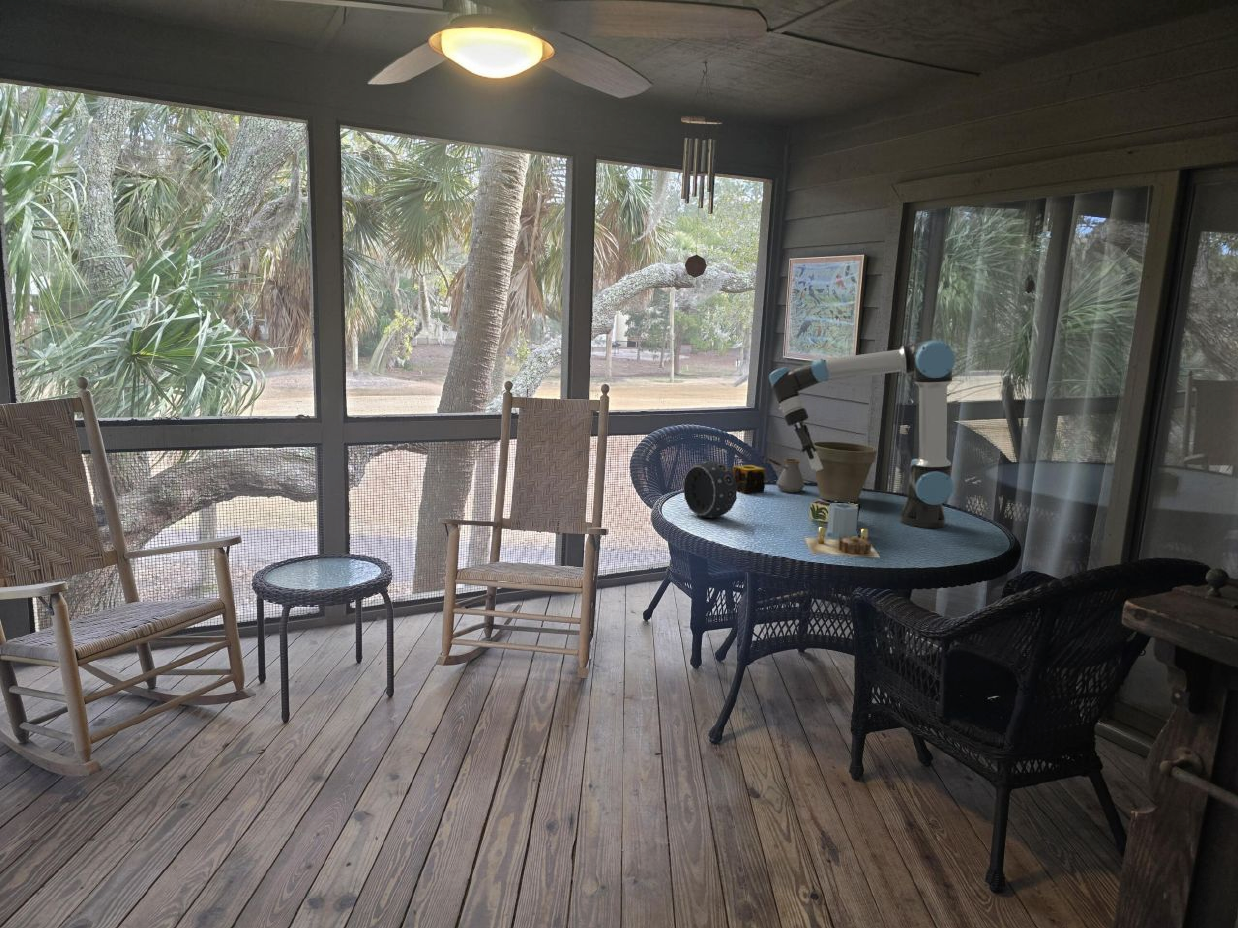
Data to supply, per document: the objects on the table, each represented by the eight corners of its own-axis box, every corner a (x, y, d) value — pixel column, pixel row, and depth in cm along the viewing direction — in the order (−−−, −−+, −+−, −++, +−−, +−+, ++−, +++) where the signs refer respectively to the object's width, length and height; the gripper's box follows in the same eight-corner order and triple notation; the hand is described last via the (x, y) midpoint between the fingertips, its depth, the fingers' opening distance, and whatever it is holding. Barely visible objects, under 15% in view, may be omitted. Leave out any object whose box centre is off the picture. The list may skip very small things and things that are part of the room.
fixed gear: (867, 547, 247) (868, 534, 246) (873, 555, 238) (874, 542, 237) (836, 545, 248) (837, 532, 247) (841, 553, 239) (842, 540, 238)
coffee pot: (789, 486, 341) (791, 452, 338) (809, 492, 332) (812, 456, 329) (753, 491, 329) (755, 455, 326) (773, 497, 320) (776, 460, 317)
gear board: (868, 546, 254) (868, 541, 254) (879, 562, 237) (880, 557, 237) (804, 542, 256) (804, 537, 256) (810, 557, 239) (811, 553, 239)
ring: (714, 525, 273) (718, 467, 270) (679, 512, 290) (681, 457, 286) (738, 521, 279) (742, 465, 276) (702, 509, 296) (705, 455, 292)
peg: (824, 542, 251) (825, 526, 250) (824, 544, 249) (826, 528, 248) (817, 541, 251) (818, 526, 250) (818, 543, 249) (819, 528, 248)
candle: (744, 494, 323) (746, 470, 321) (730, 489, 332) (731, 465, 330) (765, 492, 328) (766, 468, 326) (750, 487, 336) (751, 464, 335)
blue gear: (847, 534, 268) (849, 501, 266) (863, 542, 258) (866, 509, 256) (818, 535, 265) (821, 502, 263) (834, 543, 255) (837, 510, 253)
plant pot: (869, 495, 329) (874, 443, 325) (874, 508, 306) (879, 452, 302) (807, 490, 335) (811, 439, 331) (807, 503, 311) (811, 448, 307)
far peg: (865, 544, 251) (867, 528, 250) (867, 545, 249) (868, 530, 248) (859, 543, 251) (860, 528, 250) (860, 545, 249) (862, 529, 248)
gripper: (788, 419, 288) (810, 474, 284) (779, 412, 264) (803, 471, 261) (808, 411, 286) (831, 466, 282) (800, 403, 262) (825, 463, 259)
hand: (817, 469), depth 272 cm, fingers open, 13 cm apart
